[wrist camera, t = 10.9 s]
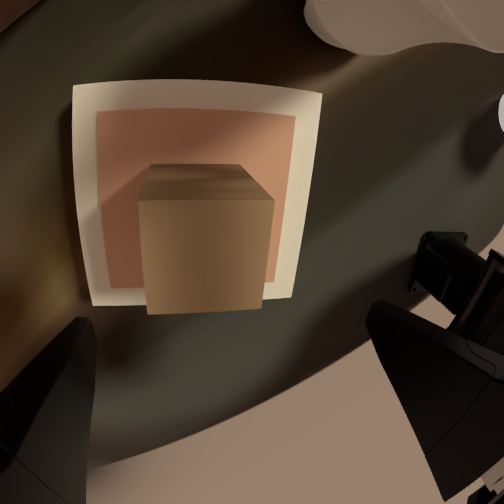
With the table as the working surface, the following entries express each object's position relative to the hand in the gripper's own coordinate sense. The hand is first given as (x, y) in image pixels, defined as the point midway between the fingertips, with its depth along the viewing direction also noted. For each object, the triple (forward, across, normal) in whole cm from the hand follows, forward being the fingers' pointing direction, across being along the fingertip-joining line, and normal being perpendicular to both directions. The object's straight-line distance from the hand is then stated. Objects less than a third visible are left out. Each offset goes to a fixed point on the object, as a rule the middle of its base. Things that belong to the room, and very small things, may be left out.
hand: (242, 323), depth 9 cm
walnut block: (+9, +1, -1) cm, 9 cm away
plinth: (+12, +1, -1) cm, 12 cm away
